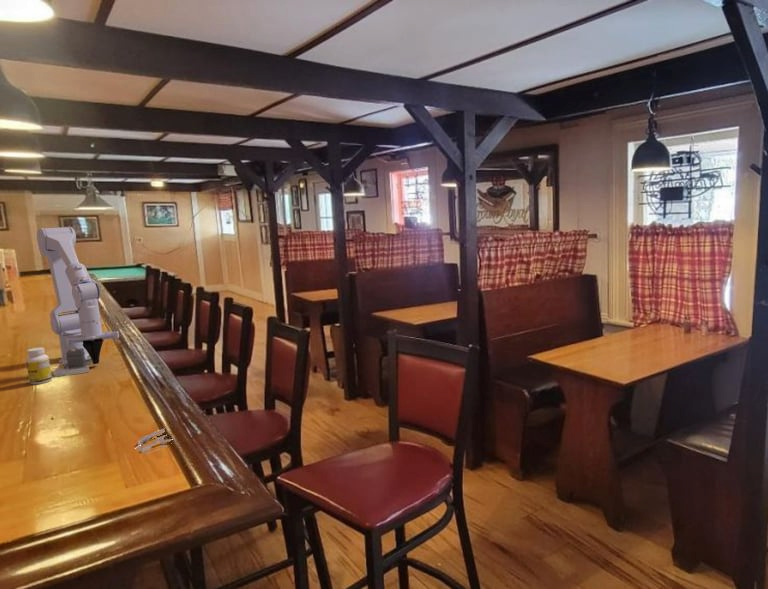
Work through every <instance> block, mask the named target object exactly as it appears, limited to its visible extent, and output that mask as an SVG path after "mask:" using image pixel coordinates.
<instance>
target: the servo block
mask: <svg viewBox="0 0 768 589" xmlns="http://www.w3.org/2000/svg"><path fill="white" fill-rule="evenodd" d="M84 354H85V352H84V349H83V348H81V349H77V348H72V349H71V350H68V351H67V353H66V355H67V358H66V360H67V362H68V368H75V367H82V366H87V365H86V362H85V355H84Z"/></svg>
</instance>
